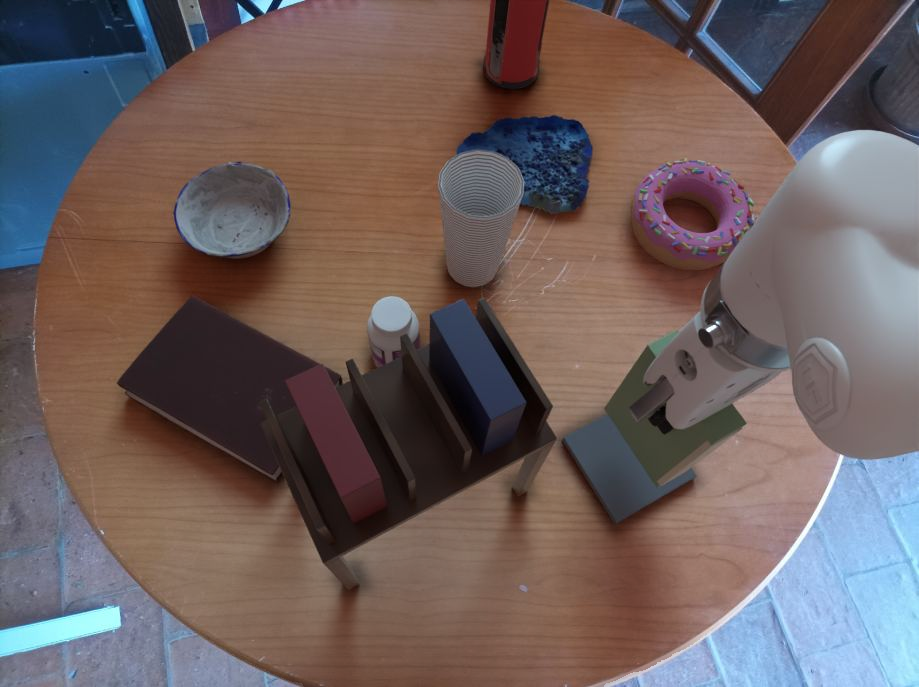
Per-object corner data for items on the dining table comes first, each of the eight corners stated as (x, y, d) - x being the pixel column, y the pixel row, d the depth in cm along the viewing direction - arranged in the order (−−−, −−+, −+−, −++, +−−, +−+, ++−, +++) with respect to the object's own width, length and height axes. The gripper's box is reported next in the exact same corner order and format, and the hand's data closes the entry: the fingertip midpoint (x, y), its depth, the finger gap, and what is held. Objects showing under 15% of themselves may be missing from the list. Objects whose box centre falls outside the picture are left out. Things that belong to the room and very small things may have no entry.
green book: (682, 474, 67) (748, 424, 53) (656, 489, 66) (716, 442, 52) (628, 395, 70) (677, 329, 56) (603, 408, 69) (647, 345, 55)
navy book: (512, 440, 55) (527, 402, 47) (481, 456, 54) (490, 420, 46) (459, 347, 58) (463, 298, 50) (429, 361, 57) (429, 313, 50)
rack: (527, 491, 71) (571, 412, 49) (348, 590, 66) (310, 550, 45) (470, 394, 75) (488, 282, 54) (298, 480, 71) (241, 395, 49)
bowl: (171, 210, 84) (157, 185, 80) (271, 172, 87) (263, 146, 83) (208, 294, 79) (195, 272, 75) (313, 251, 82) (307, 227, 78)
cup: (486, 226, 85) (498, 137, 71) (521, 280, 82) (540, 199, 68) (423, 252, 83) (423, 166, 69) (457, 309, 80) (463, 231, 66)
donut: (606, 240, 85) (616, 215, 80) (656, 162, 90) (668, 135, 86) (714, 297, 82) (731, 275, 77) (759, 214, 87) (777, 188, 83)
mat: (693, 478, 72) (697, 476, 72) (614, 524, 70) (617, 522, 69) (638, 398, 76) (641, 395, 75) (561, 440, 74) (563, 437, 73)
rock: (582, 220, 86) (585, 210, 84) (446, 196, 86) (446, 186, 85) (595, 131, 92) (598, 121, 90) (468, 110, 93) (468, 99, 91)
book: (200, 305, 79) (191, 291, 76) (345, 384, 75) (341, 372, 72) (126, 396, 74) (113, 384, 71) (277, 484, 70) (271, 476, 67)
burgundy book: (387, 506, 52) (380, 477, 44) (353, 524, 51) (340, 498, 44) (337, 405, 55) (322, 362, 48) (304, 421, 55) (284, 380, 47)
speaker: (530, 97, 94) (551, -23, 78) (475, 82, 95) (485, -40, 78) (544, 58, 97) (568, -65, 81) (491, 44, 98) (505, -81, 82)
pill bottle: (422, 334, 78) (421, 291, 70) (418, 377, 76) (417, 339, 67) (374, 330, 78) (367, 287, 70) (368, 374, 76) (361, 335, 67)
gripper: (700, 418, 39) (618, 492, 56) (910, 300, 43) (775, 402, 60) (625, 313, 42) (568, 413, 59) (829, 211, 46) (722, 332, 63)
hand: (674, 407), depth 59 cm, fingers closed on green book, 3 cm apart
